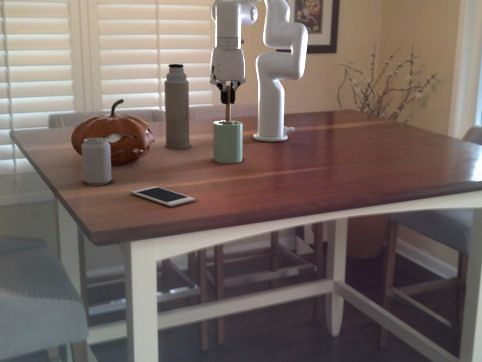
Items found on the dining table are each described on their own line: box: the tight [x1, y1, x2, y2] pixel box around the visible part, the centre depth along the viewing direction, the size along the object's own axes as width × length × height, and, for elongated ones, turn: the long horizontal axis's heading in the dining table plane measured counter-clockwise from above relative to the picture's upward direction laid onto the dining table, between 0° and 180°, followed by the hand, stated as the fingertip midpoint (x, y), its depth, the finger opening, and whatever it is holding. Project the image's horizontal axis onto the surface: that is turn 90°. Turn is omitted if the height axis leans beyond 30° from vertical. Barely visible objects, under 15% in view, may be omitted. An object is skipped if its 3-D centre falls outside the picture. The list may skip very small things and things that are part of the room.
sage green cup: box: [212, 120, 244, 164], centre depth 210 cm, size 9×9×12 cm
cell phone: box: [131, 185, 195, 208], centre depth 170 cm, size 8×16×1 cm, turn 48°
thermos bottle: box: [164, 63, 190, 150], centre depth 226 cm, size 8×8×28 cm
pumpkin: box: [70, 98, 156, 166], centre depth 204 cm, size 25×25×19 cm
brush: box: [221, 84, 235, 125], centre depth 208 cm, size 4×4×17 cm
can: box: [81, 138, 112, 186], centre depth 181 cm, size 8×8×12 cm
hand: (227, 103), depth 207 cm, fingers closed on brush
